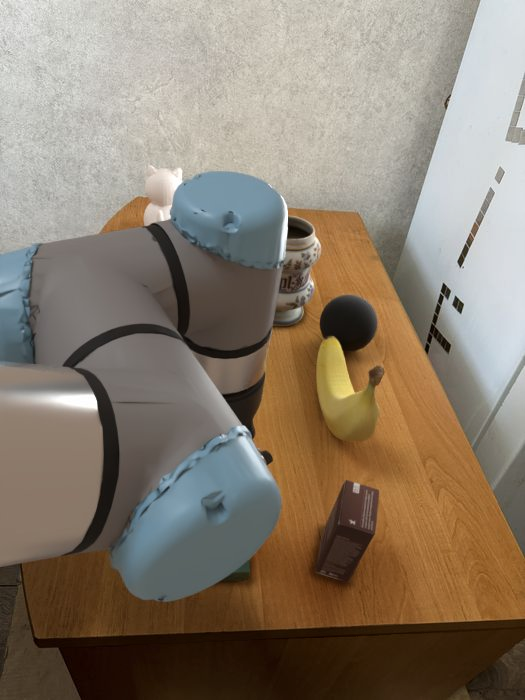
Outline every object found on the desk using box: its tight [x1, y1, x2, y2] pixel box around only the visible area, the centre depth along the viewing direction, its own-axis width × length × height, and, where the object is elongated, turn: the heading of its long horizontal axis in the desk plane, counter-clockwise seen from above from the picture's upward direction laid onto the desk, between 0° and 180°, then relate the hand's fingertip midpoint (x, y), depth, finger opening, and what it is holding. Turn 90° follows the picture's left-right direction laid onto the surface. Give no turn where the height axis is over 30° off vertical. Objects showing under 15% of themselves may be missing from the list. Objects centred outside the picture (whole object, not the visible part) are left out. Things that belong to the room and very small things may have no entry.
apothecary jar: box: [273, 215, 322, 327], centre depth 95 cm, size 12×12×18 cm
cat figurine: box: [143, 164, 183, 226], centre depth 111 cm, size 9×12×15 cm
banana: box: [315, 336, 386, 443], centre depth 77 cm, size 23×6×20 cm, turn 4°
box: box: [315, 479, 380, 583], centre depth 62 cm, size 6×4×12 cm
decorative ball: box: [319, 294, 379, 353], centre depth 93 cm, size 10×10×10 cm
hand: (210, 512), depth 59 cm, fingers closed
